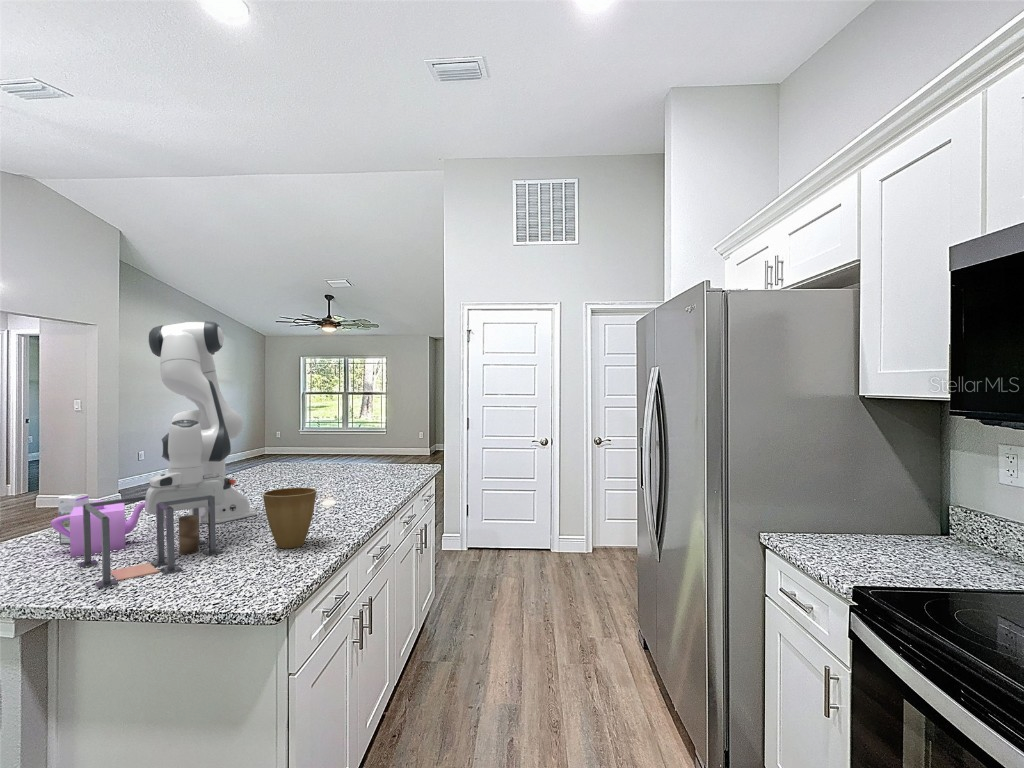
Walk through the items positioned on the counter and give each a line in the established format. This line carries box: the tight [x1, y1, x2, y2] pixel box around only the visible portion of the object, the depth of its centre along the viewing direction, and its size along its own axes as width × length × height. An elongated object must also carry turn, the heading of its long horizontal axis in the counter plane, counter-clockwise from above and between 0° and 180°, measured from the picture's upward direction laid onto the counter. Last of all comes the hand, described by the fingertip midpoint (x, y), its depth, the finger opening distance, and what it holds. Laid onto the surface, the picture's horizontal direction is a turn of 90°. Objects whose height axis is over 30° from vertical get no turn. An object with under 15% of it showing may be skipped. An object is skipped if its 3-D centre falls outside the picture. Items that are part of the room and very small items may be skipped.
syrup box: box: [57, 493, 90, 545], centre depth 185 cm, size 6×6×14 cm
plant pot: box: [262, 487, 317, 549], centre depth 177 cm, size 15×15×16 cm
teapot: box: [50, 499, 145, 558], centre depth 179 cm, size 15×25×14 cm, turn 123°
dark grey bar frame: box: [76, 495, 223, 589], centre depth 162 cm, size 31×27×16 cm
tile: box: [110, 562, 160, 582], centre depth 154 cm, size 9×10×1 cm
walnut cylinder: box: [178, 514, 200, 555], centre depth 172 cm, size 5×5×10 cm
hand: (186, 525), depth 171 cm, fingers open, 8 cm apart
